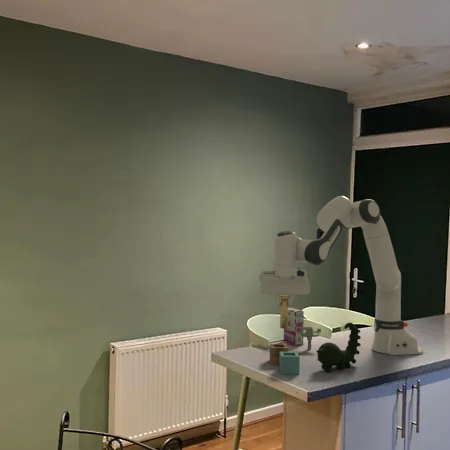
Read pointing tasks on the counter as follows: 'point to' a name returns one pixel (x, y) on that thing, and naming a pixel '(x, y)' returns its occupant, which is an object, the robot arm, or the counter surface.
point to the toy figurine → (339, 351)
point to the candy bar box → (294, 327)
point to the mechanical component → (308, 334)
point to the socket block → (289, 362)
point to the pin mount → (276, 352)
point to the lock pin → (284, 311)
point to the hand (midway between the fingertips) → (284, 305)
